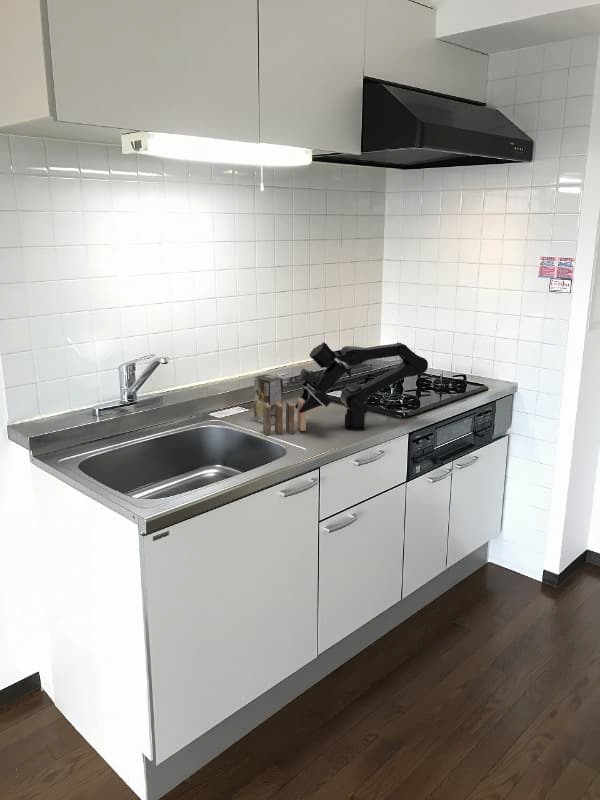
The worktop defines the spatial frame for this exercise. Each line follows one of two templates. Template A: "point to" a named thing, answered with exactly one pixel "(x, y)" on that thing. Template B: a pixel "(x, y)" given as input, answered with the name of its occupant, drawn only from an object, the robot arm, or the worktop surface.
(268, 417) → the walnut tile
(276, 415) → the walnut tile
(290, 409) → the walnut tile
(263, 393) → the coffee box
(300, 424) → the tile
